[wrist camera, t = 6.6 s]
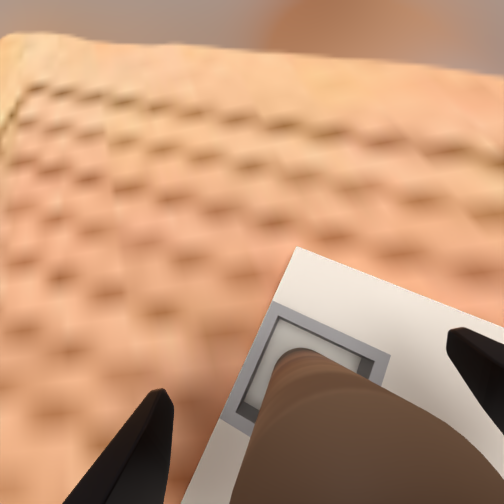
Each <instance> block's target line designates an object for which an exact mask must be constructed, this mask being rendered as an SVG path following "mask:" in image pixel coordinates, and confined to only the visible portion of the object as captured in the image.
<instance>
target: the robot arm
mask: <svg viewBox="0 0 504 504" xmlns="http://www.w3.org/2000/svg"><path fill="white" fill-rule="evenodd" d="M446 352H447V355H448V357H449V358H450V360H451V361H452V363H453V364H454V366H455V367H456V369H457V370H458V372H459V374H460V375H461V377H462V378H463V380H464V381H465V383H466V384H467V386H468V387H469V389H470V390H471V392H472V393H473V395H474V396H475V398H476V399H477V401H478V402H479V404H480V405H481V407H482V408H483V409H484V411H485V412H486V413H487V415H488V416H489V417H490V418H491V420H492V421H493V422H494V424H495V425H496V426H497V427H498V429H499V430H500V431H501V432H502V434H503V435H504V344H502V343H500V342H498V341H495V340H493V339H491V338H489V337H486V336H484V335H482V334H480V333H477V332H475V331H473V330H471V329H468V328H466V327H458V328H453V329H450V330H449V331H448V333H447V342H446ZM173 419H174V405H173V403H172V401H171V399H170V397H169V396H168V394H167V392H166V390H165V389H163V388H161V389H156V390H152V391H150V392H149V393H148V395H147V396H146V397H145V398H144V400H143V401H142V402H141V404H140V405H139V406H138V407H137V409H136V410H135V411H134V413H133V414H132V415H131V416H130V418H129V419H128V420H127V421H126V423H125V424H124V425H123V427H122V428H121V429H120V430H119V432H118V433H117V434H116V436H115V437H114V438H113V439H112V441H111V442H110V443H109V444H108V446H107V447H106V448H105V450H104V451H103V452H102V453H101V455H100V456H99V457H98V459H97V460H96V461H95V462H94V464H93V465H92V466H91V467H90V469H89V470H88V471H87V473H86V474H85V475H84V476H83V478H82V479H81V480H80V482H79V483H78V484H77V485H76V487H75V488H74V489H73V490H72V492H71V493H70V494H69V496H68V497H67V498H66V499H65V501H64V502H63V503H62V504H163V502H164V496H165V491H166V485H167V479H168V473H169V466H170V457H171V445H172V432H173Z"/></svg>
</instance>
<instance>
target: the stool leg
mask: <svg viewBox="0 0 504 504" xmlns="http://www.w3.org/2000/svg"><path fill="white" fill-rule="evenodd" d="M229 504H504V479H503V478H502V477H501V475H500V474H499V473H498V471H497V470H496V469H495V468H494V467H493V466H492V464H491V463H490V462H489V461H488V460H487V459H486V458H485V456H484V455H483V454H482V453H481V452H480V451H479V450H478V449H477V448H476V447H475V446H473V445H472V444H471V443H470V442H469V441H468V440H467V439H466V438H465V437H464V436H463V435H461V434H460V433H459V432H457V431H456V430H455V429H453V428H452V427H451V426H450V425H448V424H447V423H446V422H444V421H442V420H441V419H439V418H437V417H436V416H434V415H432V414H431V413H429V412H428V411H426V410H424V409H422V408H420V407H418V406H416V405H415V404H413V403H411V402H409V401H407V400H405V399H403V398H402V397H400V396H398V395H396V394H394V393H392V392H390V391H389V390H387V389H385V388H383V387H381V386H379V385H377V384H376V383H374V382H372V381H370V380H368V379H366V378H364V377H362V376H361V375H359V374H357V373H355V372H353V371H351V370H349V369H348V368H346V367H344V366H342V365H340V364H338V363H336V362H335V361H333V360H331V359H329V358H327V357H325V356H323V355H322V354H320V353H318V352H316V351H314V350H311V349H308V348H294V349H291V350H289V351H287V352H285V353H284V354H283V355H282V356H281V357H280V358H279V359H278V360H277V362H276V364H275V366H274V369H273V372H272V375H271V378H270V381H269V384H268V387H267V390H266V393H265V396H264V399H263V402H262V405H261V408H260V411H259V414H258V417H257V420H256V422H255V425H254V428H253V431H252V434H251V437H250V440H249V443H248V446H247V449H246V452H245V455H244V458H243V461H242V464H241V467H240V470H239V473H238V476H237V479H236V482H235V485H234V488H233V491H232V495H231V499H230V502H229Z"/></svg>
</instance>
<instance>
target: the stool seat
mask: <svg viewBox="0 0 504 504" xmlns="http://www.w3.org/2000/svg"><path fill="white" fill-rule="evenodd" d="M458 327H466V328H468V329H471V330H473V331H475V332H477V333H480V334H482V335H484V336H486V337H489V338H491V339H493V340H495V341H498V342H500V343H502V344H504V328H503V327H501V326H498V325H496V324H493V323H490V322H488V321H485V320H483V319H480V318H478V317H475V316H473V315H470V314H468V313H465V312H463V311H460V310H457V309H455V308H452V307H450V306H447V305H445V304H442V303H440V302H437V301H435V300H432V299H430V298H427V297H424V296H422V295H419V294H417V293H414V292H412V291H409V290H407V289H404V288H402V287H399V286H397V285H394V284H392V283H389V282H386V281H384V280H381V279H379V278H376V277H374V276H371V275H369V274H366V273H364V272H361V271H359V270H356V269H353V268H351V267H348V266H346V265H343V264H341V263H338V262H336V261H333V260H331V259H328V258H326V257H323V256H320V255H318V254H315V253H313V252H310V251H308V250H305V249H303V248H300V247H298V246H296V249H295V251H294V253H293V255H292V258H291V260H290V262H289V264H288V266H287V269H286V271H285V273H284V275H283V278H282V280H281V282H280V284H279V286H278V289H277V291H276V293H275V295H274V297H273V300H272V302H271V304H270V306H269V309H268V311H267V313H266V315H265V317H264V320H263V322H262V324H261V326H260V329H259V331H258V333H257V335H256V337H255V340H254V342H253V344H252V346H251V348H250V351H249V353H248V355H247V357H246V360H245V362H244V364H243V366H242V368H241V371H240V373H239V375H238V377H237V380H236V382H235V384H234V386H233V388H232V391H231V393H230V395H229V397H228V399H227V402H226V404H225V406H224V408H223V411H222V413H221V415H220V417H219V419H218V422H217V424H216V426H215V428H214V431H213V433H212V435H211V437H210V439H209V442H208V444H207V446H206V448H205V450H204V453H203V455H202V457H201V459H200V462H199V464H198V466H197V468H196V470H195V473H194V475H193V477H192V479H191V482H190V484H189V486H188V488H187V490H186V493H185V495H184V497H183V499H182V501H181V504H229V502H230V499H231V495H232V491H233V488H234V485H235V482H236V479H237V476H238V473H239V470H240V467H241V464H242V461H243V458H244V455H245V452H246V449H247V446H248V443H249V440H250V437H251V434H252V431H253V428H254V425H255V422H256V420H257V417H258V414H259V411H260V408H261V405H262V402H263V399H264V396H265V393H266V390H267V387H268V384H269V381H270V378H271V375H272V372H273V369H274V366H275V364H276V362H277V360H278V359H279V358H280V357H281V356H282V355H283V354H284V353H285V352H287V351H289V350H291V349H294V348H308V349H311V350H314V351H316V352H318V353H320V354H322V355H323V356H325V357H327V358H329V359H331V360H333V361H335V362H336V363H338V364H340V365H342V366H344V367H346V368H348V369H349V370H351V371H353V372H355V373H357V374H359V375H361V376H362V377H364V378H366V379H368V380H370V381H372V382H374V383H376V384H377V385H379V386H381V387H383V388H385V389H387V390H389V391H390V392H392V393H394V394H396V395H398V396H400V397H402V398H403V399H405V400H407V401H409V402H411V403H413V404H415V405H416V406H418V407H420V408H422V409H424V410H426V411H428V412H429V413H431V414H432V415H434V416H436V417H437V418H439V419H441V420H442V421H444V422H446V423H447V424H448V425H450V426H451V427H452V428H453V429H455V430H456V431H457V432H459V433H460V434H461V435H463V436H464V437H465V438H466V439H467V440H468V441H469V442H470V443H471V444H472V445H473V446H475V447H476V448H477V449H478V450H479V451H480V452H481V453H482V454H483V455H484V456H485V458H486V459H487V460H488V461H489V462H490V463H491V464H492V466H493V467H494V468H495V469H496V470H497V471H498V473H499V474H500V475H501V477H502V478H503V479H504V435H503V434H502V432H501V431H500V430H499V429H498V427H497V426H496V425H495V424H494V422H493V421H492V420H491V418H490V417H489V416H488V415H487V413H486V412H485V411H484V409H483V408H482V407H481V405H480V404H479V402H478V401H477V399H476V398H475V396H474V395H473V393H472V392H471V390H470V389H469V387H468V386H467V384H466V383H465V381H464V380H463V378H462V377H461V375H460V374H459V372H458V370H457V369H456V367H455V366H454V364H453V363H452V361H451V360H450V358H449V357H448V355H447V352H446V342H447V333H448V331H449V330H450V329H453V328H458Z"/></svg>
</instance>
